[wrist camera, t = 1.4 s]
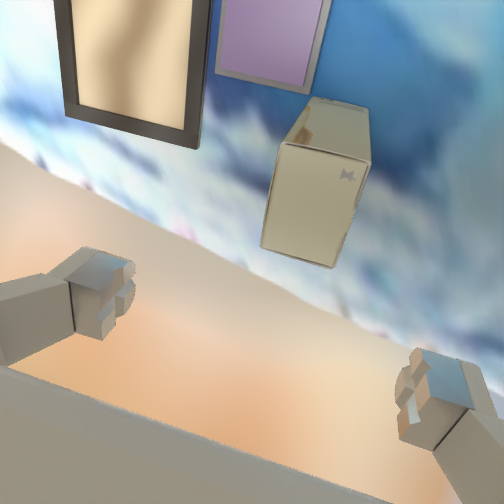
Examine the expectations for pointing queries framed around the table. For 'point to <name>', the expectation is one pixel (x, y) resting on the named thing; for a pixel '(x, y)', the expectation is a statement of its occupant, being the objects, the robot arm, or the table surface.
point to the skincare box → (317, 182)
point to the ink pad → (272, 41)
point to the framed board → (136, 65)
